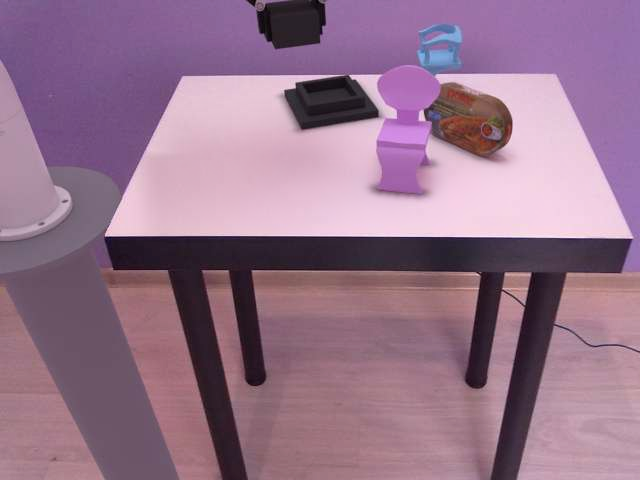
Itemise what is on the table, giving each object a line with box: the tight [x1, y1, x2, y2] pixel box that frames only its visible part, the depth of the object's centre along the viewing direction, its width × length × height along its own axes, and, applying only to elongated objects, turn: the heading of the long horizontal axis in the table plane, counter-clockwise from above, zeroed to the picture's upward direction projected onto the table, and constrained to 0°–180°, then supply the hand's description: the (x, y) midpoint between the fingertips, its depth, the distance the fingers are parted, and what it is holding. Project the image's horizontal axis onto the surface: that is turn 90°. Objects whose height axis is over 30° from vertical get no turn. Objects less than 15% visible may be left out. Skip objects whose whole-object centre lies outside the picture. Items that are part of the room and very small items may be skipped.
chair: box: [416, 23, 463, 85], centre depth 103 cm, size 8×8×12 cm
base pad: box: [283, 74, 380, 130], centre depth 104 cm, size 13×13×3 cm
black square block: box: [266, 0, 321, 50], centre depth 81 cm, size 6×6×4 cm
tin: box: [422, 81, 514, 157], centre depth 91 cm, size 15×3×8 cm, turn 42°
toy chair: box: [375, 64, 441, 195], centre depth 82 cm, size 8×9×15 cm
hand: (293, 33), depth 82 cm, fingers closed on black square block, 6 cm apart
